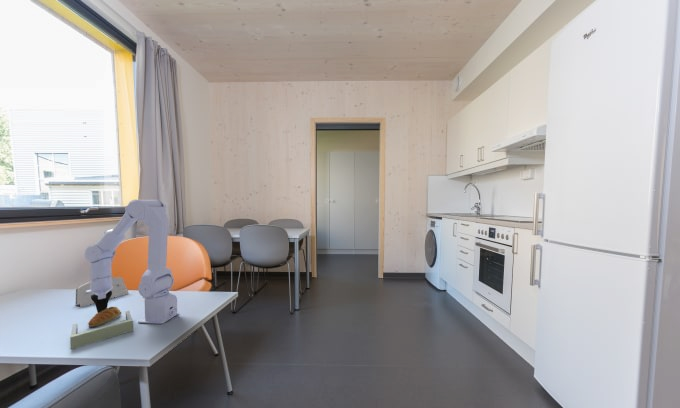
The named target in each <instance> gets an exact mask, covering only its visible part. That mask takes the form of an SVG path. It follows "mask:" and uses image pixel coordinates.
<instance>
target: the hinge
mask: <svg viewBox="0 0 680 408" xmlns="http://www.w3.org/2000/svg"><path fill="white" fill-rule="evenodd" d="M112 286H113V289H111V290H110V291H112V295H111V297H110V299H109V300H112V299H115V298H118V297H119V298H120V297H122V296H125V295H128V294H129V290H128V289H127V286H126V284H125V281H124V278H123V277H121V276H112ZM87 290H91V282H90V281H88V282H86V283H84V284H82V285H80V286H77V287H76V289H75V306H79V307H80V308H83V306H84V307H87V306H89V305H90V304H91V305H94V304H95V303H94V302H93V300H92V299H91V295H93V294H92V293H86V291H87ZM114 297H115V298H114ZM111 298H112V299H111ZM93 303H94V304H93ZM86 305H87V306H86Z"/></svg>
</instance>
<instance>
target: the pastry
mask: <svg viewBox="0 0 680 408" xmlns="http://www.w3.org/2000/svg"><path fill="white" fill-rule="evenodd" d="M121 315H122V311H121V309H119V308H118V307H117V306H110V307H107V308H106V309H105V310H103V311H101V312H97V313H95V315H93V316H92V318H91V319H90V320H89V321H88V323H87V325H88V328H92V327H102V326H104V325H105V323H106V324H108V322H109V323H111V322H113V321H115V320H116V319H118V318H120V316H121ZM117 317H118V318H117ZM112 320H113V321H112ZM110 321H111V322H110ZM103 324H104V325H103Z"/></svg>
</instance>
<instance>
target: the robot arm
mask: <svg viewBox="0 0 680 408" xmlns="http://www.w3.org/2000/svg"><path fill="white" fill-rule="evenodd" d="M166 208H167V206H166V204H165V203H164V202H162V201H161V200H159V199H132V200H131V201H129V202H128V204H127V205H126V206H125V208H124V211H125V213H124V214H123V215H122V217H121V218H120V220H119V221H118V223H116V225H115V226H114V228H112V229H108V230H106V231H105V232H104V233H103V236H102V237H101V238H100V239H99V240H98V241H97V242H96V243H95V244H93V245H89V246H87V248H86V249H85V252H84V257H85V259H86V260H87V261H88V262H89V273H90V277H89V279H90V281H89V282H91V290H87V291H86V293H92V294H93V295H91V299H92V300H93V302H94V305H95V308H96V312H97V313H98V312H101V311H103V310H105V309H106V308H108V305H109V302H110V300H111V299H110V297H111V295H112V291H110V290H111V289H113V286H112V277H113V275H112V272H113V271H112V263H113V262H114V257H115V256H116V251H117V250H116V249H117V248H118V247H119V246H120V244H121V243H122V242H123V241H124V240H125V238H126V236H125V233H126V232H127V231H128V230H129V229H130V228H131V227H132V226H133V225H134V224H135V223H136V222H137V221H141V222H143V223H145V224H146V225H147V226H148V243H147V244H148V246H147V247H148V248H147V249H148V250H147V269H146V270H145V272H144V273H142V275H141V276H140V282H139V284H138V287H137V289H138V293H139V295H140V296H142V299H144V318H142V319H140V320H139V321H138V324H139V323H140V324H159V325H160V324H161V325H162V324H165V323H166V322H168V321H169V320H171V319H172V318H174V317H175V316H177V315H179V314H180V312H179V311H178V298H177V296H176V295H175V294H173V293H170V291H171V288H172V287H173V285H174V283H175V282H174V277H173V271H172V269H170V268H169V267H167V258H168V257H167V254H168V236H169V235H168V234H169V219H168V217H167V213H166V212H167V211H166V210H167V209H166Z"/></svg>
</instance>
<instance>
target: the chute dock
mask: <svg viewBox="0 0 680 408" xmlns="http://www.w3.org/2000/svg"><path fill="white" fill-rule="evenodd" d="M78 328H79V327H78V323H74V324H72V329H71V335H70V341H69V343H70V350H73V349H76V348H80V347H83V346H87V345H90V344H93V343H96V342H100V341H104V340H107V339H110V338H113V337H117V336H120V335H123V334H126V333H129V332H133V331H134V320H133V317H132V314H131V312H130V310H126V311H125V320H123V321H120V322H115V323H112V324H108V325H105V326H104V325H103V326H99V327H97V328H93V329H90V330H87V331H82V332H79V331H78ZM86 344H87V345H86Z"/></svg>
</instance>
